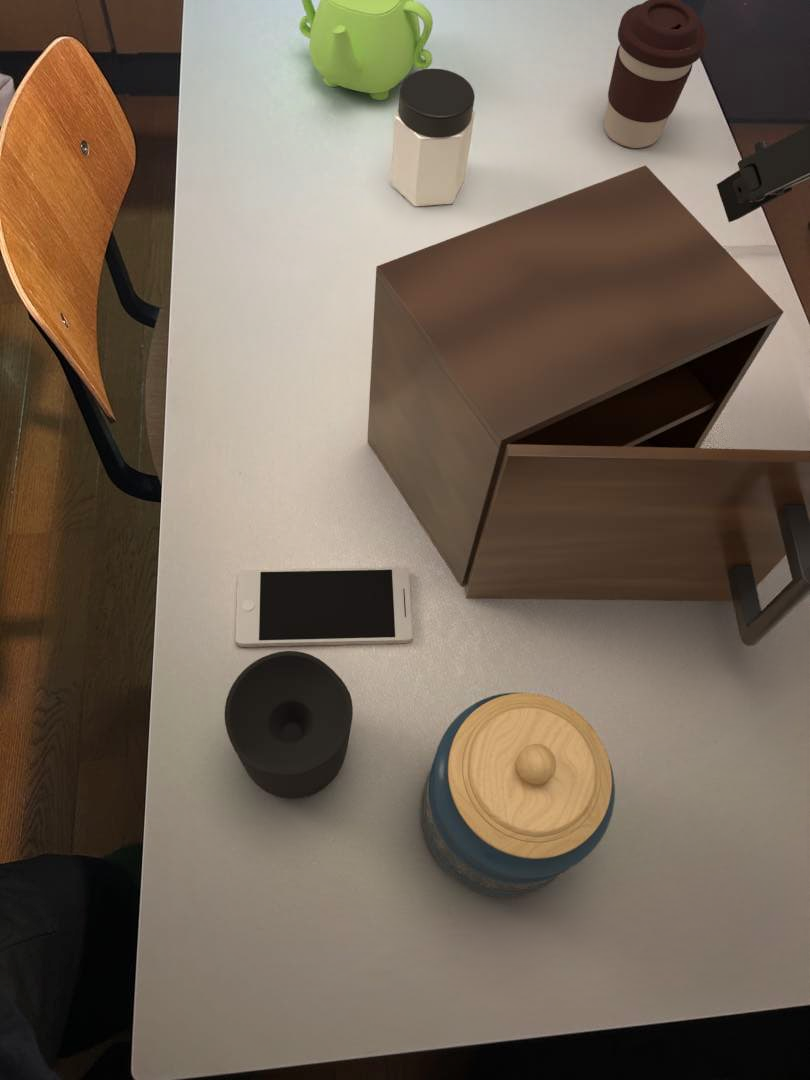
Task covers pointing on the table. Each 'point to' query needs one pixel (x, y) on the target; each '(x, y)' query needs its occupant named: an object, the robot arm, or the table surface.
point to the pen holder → (289, 723)
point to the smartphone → (323, 607)
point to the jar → (432, 136)
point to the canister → (516, 794)
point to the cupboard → (553, 345)
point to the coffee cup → (651, 69)
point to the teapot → (367, 42)
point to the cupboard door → (648, 527)
